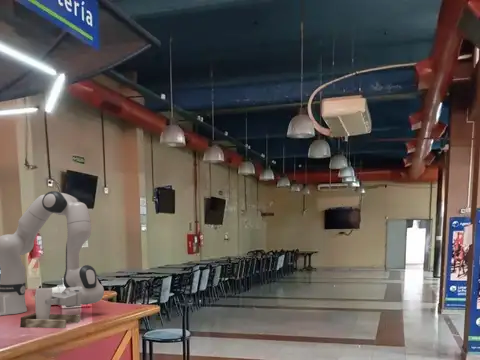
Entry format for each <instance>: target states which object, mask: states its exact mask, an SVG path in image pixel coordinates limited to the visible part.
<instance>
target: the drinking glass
mask: <svg viewBox="0 0 480 360" xmlns="http://www.w3.org/2000/svg"><path fill="white" fill-rule="evenodd" d="M52 293H53V288H52V287H38V288H36V289H35V294H34V295H35V296H34V298H35V299H34V301H35V313H36V319H42V320H49V317H50V314H51V307H52V304H45V300H48V299H52Z"/></svg>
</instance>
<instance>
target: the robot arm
mask: <svg viewBox="0 0 480 360" xmlns="http://www.w3.org/2000/svg"><path fill="white" fill-rule="evenodd" d="M52 214H54V215H55V214H56V215H57V216H65V219H66V226H67V227H66V228H67V230H66V231H67V235H66V243H65V270H64V274H63V279H62V284H63V286H64V288H65V289H64V290H63V291H61V292H57V291H55V292H52V299H48V300H45V304H51V305H58V306H63V307H65V308H73V307H80V306H82V305H85V306H86V305H91V304H96V303H98V302H100V301H101V300H102V299H103V297H104V295H105V289H104V286H103V285H102V284H101V283H100V281H99V279H98V277H97V271H96V269H95V268H94V267H93V266H91V265H89V264H87V265H86V264H85V265H83V266H80V251H81V248H82V247H83V246H84V244H85V243H86V242H87V241H88V239H89V238H90V236H91V235H92V234H91V233H92V224H91V218H90V211H89V209H88V206H87V204H85V203H84V202H81V201H80V200H79V199H78V198H77V197H75V196H73V195H70V194H68V193H66V192H65V193H64V192H60V191H57V190H56V191H55V190H51V191H48V192H47V193H45V194H41V195H39V196H38V197H36V199H35V200H33V202H31V204H30V205H29V206H28V207H27V208H26V210H25V211H24V213H23V214H22V215H21V217H19V219H18V221H17V222H18V223H17V225H18V226H17V228H16V231H14V233H9V234H7V233H6V234H3V235H0V316H7V315H14V314H15V315H17V314H22V313H25V312H28V307H27V304H26V297H25V294H26V285H27V284H26V266H25V265H24V264H23V261H22V257H21V256H22V255H23V256H24V255H26V254H28V253H30V252H31V251H32V250H33V249H34V247H35V246H34V245H35V242H34V241H35V239H36V237H37V235H38V233H39V232H40V231H41V229H42V228H43V227H44V225H45V224H46V222H47V221H48V220H49V218H50V217H51V216H52Z"/></svg>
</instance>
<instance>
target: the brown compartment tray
mask: <svg viewBox="0 0 480 360" xmlns="http://www.w3.org/2000/svg"><path fill="white" fill-rule="evenodd" d="M80 322H81V315H80V314H64V313H63V314H61V313H60V314H58V313H57V314H53V313H52V314H51V313H50V317H49V320H42V319H36V312H34V313H31V314H27V315H24V316H21V317H20V322H19V323H20V328H38V327H39V328H43V329H44V328H45V329H47V328H49V329H65V328H66V327H67V323H80ZM39 328H38V329H39Z"/></svg>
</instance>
